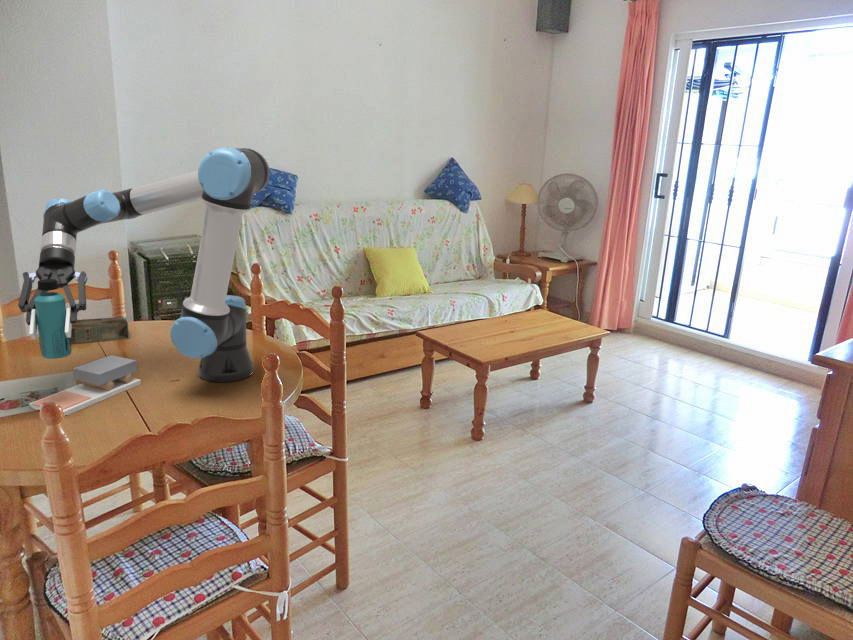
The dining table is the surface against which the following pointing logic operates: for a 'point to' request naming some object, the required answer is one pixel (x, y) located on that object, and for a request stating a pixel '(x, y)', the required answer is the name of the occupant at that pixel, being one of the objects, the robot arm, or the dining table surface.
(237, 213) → the robot arm
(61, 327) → the beverage bottle
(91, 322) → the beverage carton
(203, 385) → the dining table surface
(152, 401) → the dining table surface
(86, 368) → the slab
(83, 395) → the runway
